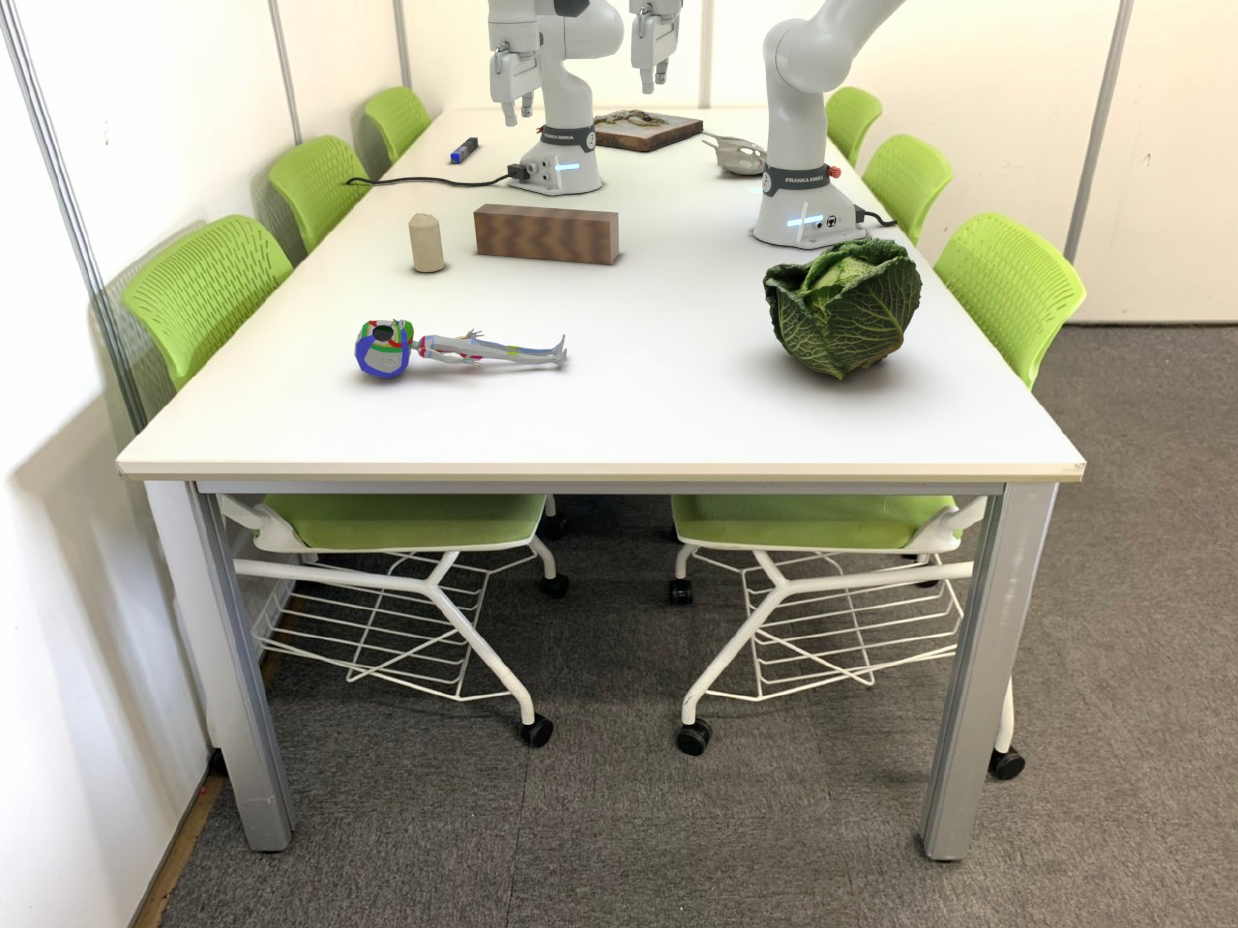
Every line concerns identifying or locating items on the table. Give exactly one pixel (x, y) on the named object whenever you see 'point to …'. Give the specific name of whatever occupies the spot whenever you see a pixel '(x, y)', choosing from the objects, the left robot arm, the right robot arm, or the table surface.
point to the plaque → (643, 129)
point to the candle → (426, 243)
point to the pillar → (464, 150)
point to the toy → (435, 349)
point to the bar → (547, 233)
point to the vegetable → (844, 304)
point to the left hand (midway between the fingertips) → (519, 121)
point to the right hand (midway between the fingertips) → (654, 88)
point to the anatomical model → (738, 155)
